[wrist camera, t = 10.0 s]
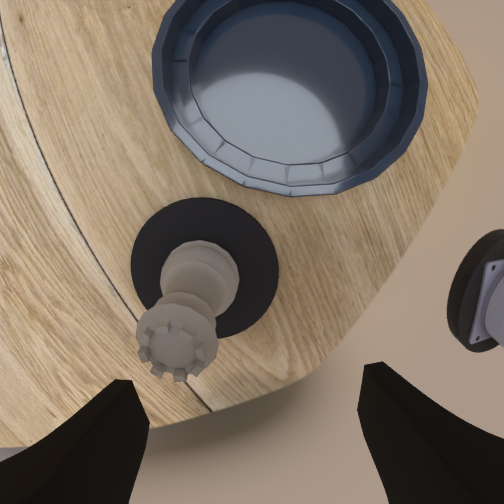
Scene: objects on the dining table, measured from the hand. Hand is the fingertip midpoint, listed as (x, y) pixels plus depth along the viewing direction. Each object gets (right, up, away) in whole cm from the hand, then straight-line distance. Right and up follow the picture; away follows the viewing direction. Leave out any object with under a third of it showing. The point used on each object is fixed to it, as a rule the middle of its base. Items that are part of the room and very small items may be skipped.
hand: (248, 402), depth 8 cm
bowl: (+2, +14, +6) cm, 16 cm away
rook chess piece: (-3, +3, +9) cm, 10 cm away
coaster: (-3, +3, +10) cm, 11 cm away
